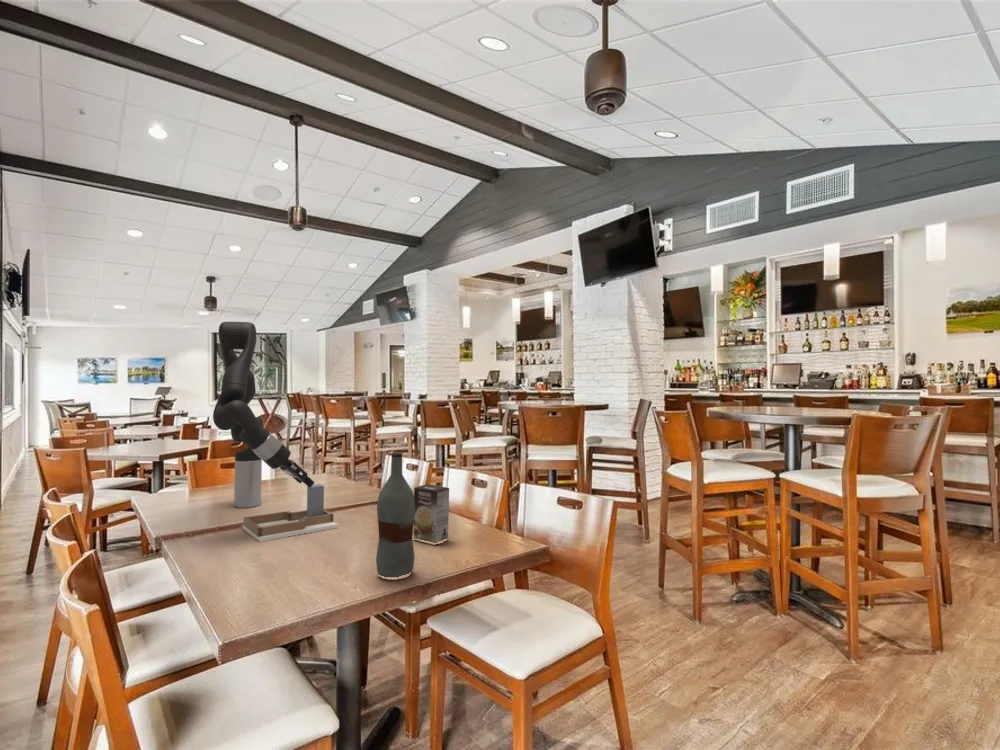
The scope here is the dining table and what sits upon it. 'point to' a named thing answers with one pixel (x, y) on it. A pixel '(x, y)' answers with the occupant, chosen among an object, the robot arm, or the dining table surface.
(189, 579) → the dining table surface
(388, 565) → the bottle
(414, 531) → the coffee box
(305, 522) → the keyhole guide board
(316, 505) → the slate keyhole peg
